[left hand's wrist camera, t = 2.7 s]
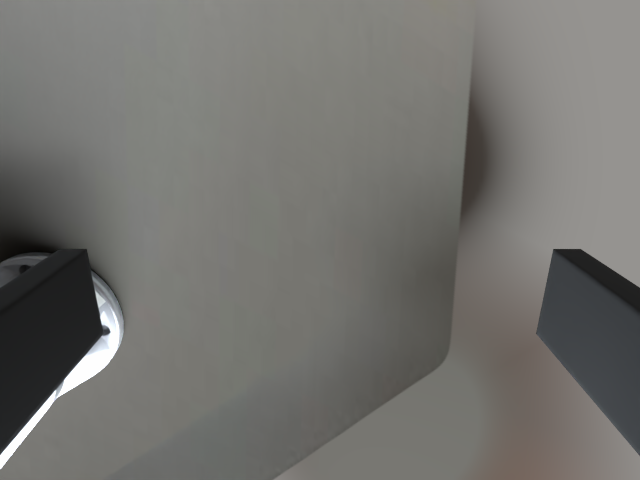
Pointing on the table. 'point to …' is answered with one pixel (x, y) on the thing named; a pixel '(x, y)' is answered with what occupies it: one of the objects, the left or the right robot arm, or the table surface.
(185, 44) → the table surface
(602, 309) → the left robot arm
